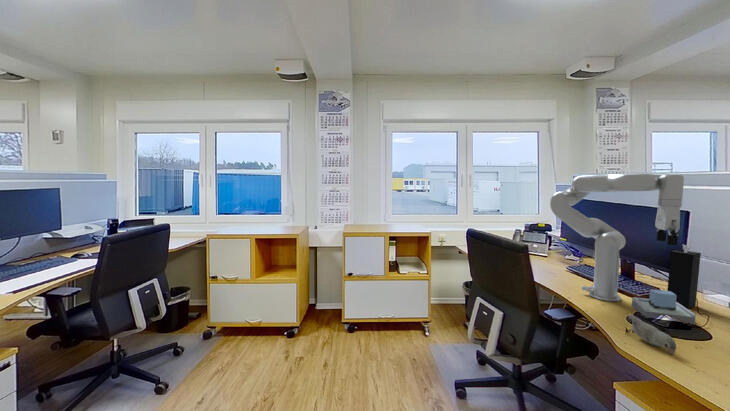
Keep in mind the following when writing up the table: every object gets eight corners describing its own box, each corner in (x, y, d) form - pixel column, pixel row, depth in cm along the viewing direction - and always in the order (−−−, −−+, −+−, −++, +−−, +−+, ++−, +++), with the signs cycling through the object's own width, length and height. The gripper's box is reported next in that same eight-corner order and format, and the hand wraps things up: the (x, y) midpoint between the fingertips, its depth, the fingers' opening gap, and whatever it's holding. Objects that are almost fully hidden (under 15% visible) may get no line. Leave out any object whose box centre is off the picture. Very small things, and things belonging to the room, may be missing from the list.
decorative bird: (666, 356, 107) (668, 334, 107) (621, 333, 123) (623, 314, 122) (680, 355, 108) (682, 333, 107) (634, 332, 124) (635, 313, 123)
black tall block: (688, 309, 146) (694, 247, 144) (665, 303, 153) (671, 244, 151) (695, 306, 150) (701, 245, 148) (673, 300, 157) (678, 242, 155)
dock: (644, 318, 136) (645, 308, 136) (631, 306, 149) (632, 297, 149) (694, 324, 131) (695, 314, 130) (676, 311, 144) (677, 302, 143)
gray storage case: (653, 308, 139) (654, 292, 138) (648, 304, 143) (649, 289, 143) (676, 311, 136) (677, 295, 135) (670, 306, 141) (671, 291, 140)
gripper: (649, 201, 150) (646, 238, 152) (668, 204, 134) (664, 245, 136) (670, 202, 147) (667, 240, 149) (692, 205, 131) (688, 247, 133)
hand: (666, 242), depth 142 cm, fingers open, 9 cm apart
